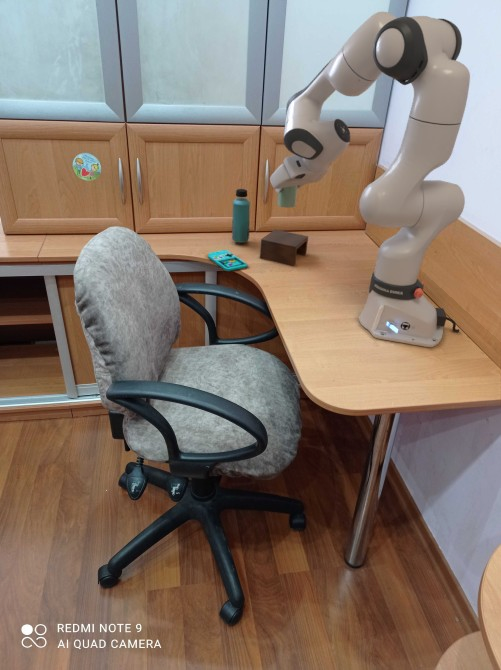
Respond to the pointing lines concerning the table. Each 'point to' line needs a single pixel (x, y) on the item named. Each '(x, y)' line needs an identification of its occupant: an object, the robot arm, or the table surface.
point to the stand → (283, 247)
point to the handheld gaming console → (227, 260)
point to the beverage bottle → (241, 217)
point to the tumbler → (287, 197)
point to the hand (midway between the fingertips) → (286, 189)
